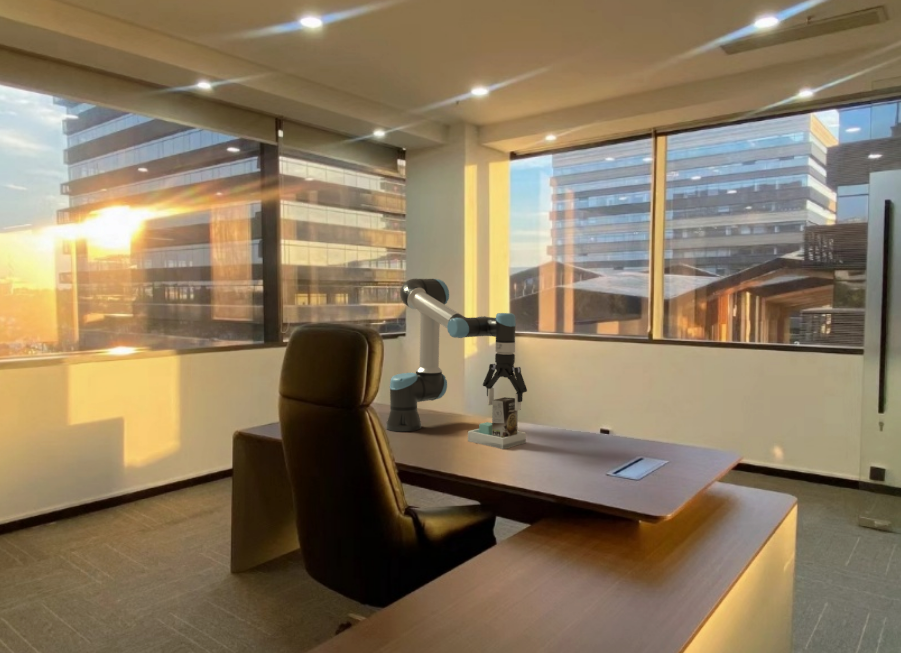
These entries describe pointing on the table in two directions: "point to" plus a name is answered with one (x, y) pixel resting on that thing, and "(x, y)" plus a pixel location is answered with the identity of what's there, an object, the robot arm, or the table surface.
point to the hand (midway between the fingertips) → (503, 407)
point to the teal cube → (485, 428)
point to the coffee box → (504, 417)
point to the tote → (496, 439)
